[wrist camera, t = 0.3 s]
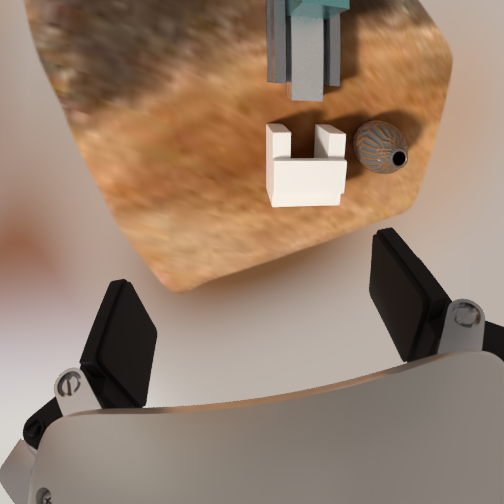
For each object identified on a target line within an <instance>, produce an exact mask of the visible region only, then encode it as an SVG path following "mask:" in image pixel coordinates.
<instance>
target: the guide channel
mask: <svg viewBox="0 0 504 504" xmlns="http://www.w3.org/2000/svg"><path fill="white" fill-rule="evenodd" d="M266 32H267V82H272V83H287V37H286V0H266ZM323 85H329V86H340V14H337V15H335V16H333V17H331V18H329V19H327V20H326V19H323Z"/></svg>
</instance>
